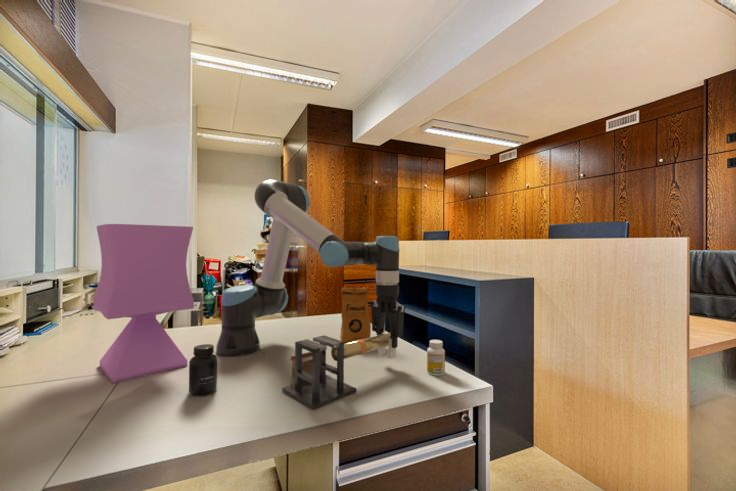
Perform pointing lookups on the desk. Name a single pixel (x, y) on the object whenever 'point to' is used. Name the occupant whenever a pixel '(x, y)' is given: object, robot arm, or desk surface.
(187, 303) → the pink table lamp
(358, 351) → the air tube
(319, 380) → the collar stand
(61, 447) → the desk surface
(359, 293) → the coffee package
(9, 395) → the desk surface
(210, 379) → the supplement bottle
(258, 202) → the robot arm
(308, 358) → the block
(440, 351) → the supplement bottle
